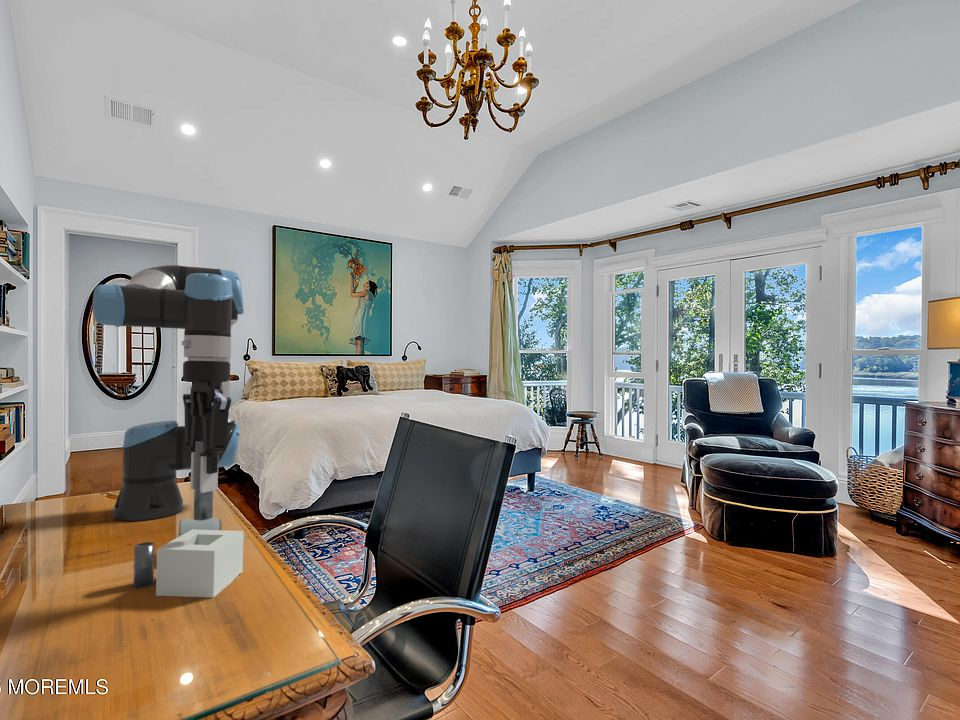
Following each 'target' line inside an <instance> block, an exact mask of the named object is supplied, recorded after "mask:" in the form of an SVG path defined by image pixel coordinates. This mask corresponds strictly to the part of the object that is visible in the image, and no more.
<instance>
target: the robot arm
mask: <svg viewBox="0 0 960 720" xmlns="http://www.w3.org/2000/svg"><path fill="white" fill-rule="evenodd" d="M241 283H242V282H241V278H240V275H239V274H238V273H237V272H235V271H233V270H228V269H227V270H226V269H222V268H210V267H208V268H207V267H199V266H197V267H196V266H186V265H178V264H167V265H158V266H154V267H149V268H145V269H142V270H140V271H138V272H136V273H135V274H134V275H133V276H132V277H131V278H130V280H129V282H128V283H127V284H125V285H120V284H98V285H97V286H96V287H95V288H94V290H93V295H92V313H93V317H94V320H95V321H96V323H98V324H99V325H102V326H103V325H104V326H114V327H117V328H119V327H120V328H121V327H134V328H135V327H140V328H143V327H144V328H161V329H177V330H178V329H180V330H181V329H182V330H183V329H184V333H183V335H184V336H183V340H182V341H181V346H183V356H184V358H187V360H184V362H183V363H182V380H183V381H184V382H187V383H191V388H190V393H184V394H183V396H182V400H183V406H184V425H183V426H181V425H180V426H179V423H178V422H177V420H164V421H156V422H148V423H142V424H139V425H135V426H131V427H130V428H128V429H127V430H126V431H125V432H124V436H123V445H122V448H123V459H122V460H123V463H122V465H123V466H122V470H123V471H122V484H121V485H122V486H121V488H120V491H119V493H118V496H117V498H116V501H115V504H114V506H113V514H112V515H113V518H114V519H116V520H118V521H127V522H131V521H132V522H135V521H136V522H138V521H149V520H154V519H160V518H164V517H168V516H172V515H175V514H177V513H179V512H181V511H182V510H183V508H184V507H183V506H184V500H183V496H182V494H181V491H180V487H179V485H178V483H177V471H185V470H190V489H191V490H194V483H195V443H196V441H197V440H203V446H204V453H199V454H200V456H201V472H200V492H201V493H204V492H209V491H213V492H214V491H218V486H219V485H218V484H219V482H218V479H219V468H224V467H230V466H232V465H233V464H234V462H235V461H236V458H237V455H238V447H239V443H240V442H239V441H240V433H241V425H240V424H239V423H236V422H235V421H236V418H235V417H234V416H233V415H232V414H231V413H230V407H231V403H232V398H231V397H230V383H231V382H230V380H231V357H232V355H231V354H232V352H231V351H232V327H233V325H234V324H236V323H237V322H238V319H239V317H238V316H239V315H240V316H241V315H243V314H244V313H245V312H244V311H245V310H244V297H243V290H242V289H243V288H242V284H241Z"/></svg>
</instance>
